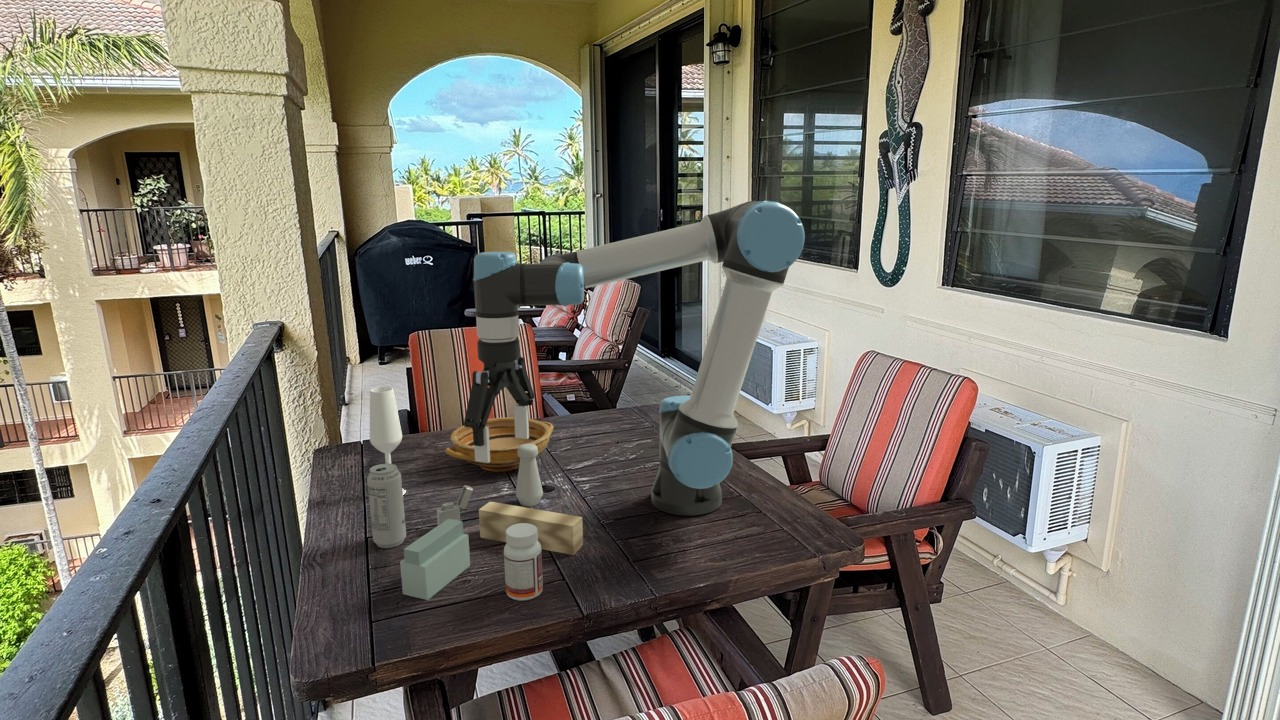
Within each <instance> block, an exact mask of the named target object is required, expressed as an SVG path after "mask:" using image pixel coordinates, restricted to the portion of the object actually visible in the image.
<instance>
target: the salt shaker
mask: <svg viewBox="0 0 1280 720" xmlns="http://www.w3.org/2000/svg"><path fill="white" fill-rule="evenodd" d="M517 453H518V456H519V457H520V465H519V468H518V471H517V472H518V473H517V480H516V485H515V487H516V489H515V496H516V498H517V500H518V502H519V504H520V505H521V507H526V508H532V507H535V506H537V505H539V503H540V500H541V499H542V497H543V496H544V490H543V487H542V481H541V477H540V473H539V467H538V463H537V459H536V458H537V457H538V456H539V455H538V448H537V446H536V445H534V444H523V445H520V446H519V447H518V450H517ZM537 455H538V456H537ZM536 456H537V457H536ZM535 457H536V458H535Z"/></svg>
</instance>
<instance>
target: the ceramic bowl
mask: <svg viewBox="0 0 1280 720" xmlns="http://www.w3.org/2000/svg"><path fill="white" fill-rule="evenodd" d="M480 422H481V420H480ZM528 423H529V438H528V439H523V438H516V437H515V423H514V416H512V417H510V416H509V417H494V418H488V420H487V423H486V426H485V427H489V445H490V462H489V463H485V462H478V461H475V449H474V443H473V429H472V428H470V427H465V426H464V425H462V426H460V427H457V428H456V429H455V430H453V432H452V433H451V434H450V436H449V439H450V442H452V447H447V448H445V450H444V452H445V454H446V455H449V456H451V457H453V458H455V459H461V460H463V461H465V462H468V463H470V464H472V465H473V464H474V465H477V466H480V468H481V469H483V470H486V471H490V472H509V471H513V469H514V470H517V469H519V465H520V457H519V456H518V453H517V450H518V447H519V446H520V445H523V444H534V445H536V446H537V448H538V455H537V456H536V457H535V458H537V457H539V456H540V455H541V454H542V453H543V452H544V451H545V450H546V449H547V446H548V445H549V441H550V438H551V435H552V433H553V431H554V425H553V424H552V423H551V422H549V421H540V420H537V419H533V418H528ZM508 470H509V471H508Z"/></svg>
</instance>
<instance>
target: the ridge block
mask: <svg viewBox="0 0 1280 720" xmlns="http://www.w3.org/2000/svg"><path fill="white" fill-rule="evenodd" d="M469 544H470V542H469V534H466V533H464V522H463V521H462V520H460V521H458V520H453V519H447V520H446V521H444V522H443V523H441V524H440V525H438V524H437V525H436V526H435V527H434V528H432V529H431V530H430V531H428V532H427V533H425V534H424V535H422V536H420V537H419V538H417V539H416V540H415V541H414V542H413V541H412V543H411V544H409V545H408V546H406V547H405V548H403V557H404V558H403V559H401V560H400V561H399V564H400V567H399V569H400V577H401V578H400V579H401V585H402V586H401V589H402V595H405V596H409V597H414V598H416V599H417V598H418V599H420V600H421V599H422V600H424V601H425V600H426V601H428V600H430V599H431V598H433V597H434V596H435V595H436V594H438V592H440V591H441V590H442V589H443V588H444V587H446V586H447V585H448V584H450V583H451V582H452V581H453V580H455V579H456V578H457V577H458V576H459V575H461V574H462V573H463V572H465V571H466V570H467V569H468V568H469V567H471V558H470V555H471V554H470V545H469Z"/></svg>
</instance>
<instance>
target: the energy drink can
mask: <svg viewBox="0 0 1280 720" xmlns="http://www.w3.org/2000/svg"><path fill="white" fill-rule="evenodd" d="M366 482H367V493H368V494H367V495H368V501H369V502H368V503H369V512H370V522H371V532H372V534H371V535H372V541H373V543H374V544H376V546H377V547H378V548H382V549H391V548H395V547H398V546H400V545H402V544H403V542H404V540H405V539H406V537H407V528H406V516H405V506H404V505H405V504H404V496H403V492H402V488H403V484H402V483H403V481H402V474H401V472H400V471H399V470H398V466H397V464H394V463H391V464H390V463H386V462H385V463H380V464H376V465H373V466H372V467H370V468H369V473H368V476H367V478H366Z"/></svg>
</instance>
